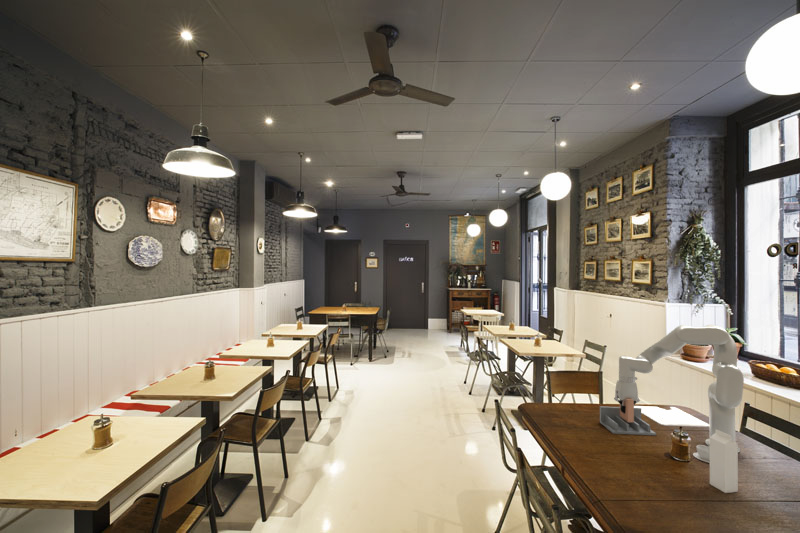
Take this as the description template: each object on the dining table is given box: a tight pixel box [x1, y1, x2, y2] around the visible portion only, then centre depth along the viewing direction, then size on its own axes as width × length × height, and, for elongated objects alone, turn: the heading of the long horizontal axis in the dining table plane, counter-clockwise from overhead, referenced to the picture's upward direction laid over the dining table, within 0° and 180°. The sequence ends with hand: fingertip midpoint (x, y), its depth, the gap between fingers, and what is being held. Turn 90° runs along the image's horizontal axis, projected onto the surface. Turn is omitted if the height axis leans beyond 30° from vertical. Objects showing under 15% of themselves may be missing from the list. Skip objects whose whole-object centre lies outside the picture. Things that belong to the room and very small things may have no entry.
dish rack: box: [599, 405, 657, 436], centre depth 194 cm, size 14×22×9 cm, turn 86°
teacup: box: [692, 444, 710, 464], centre depth 163 cm, size 10×10×5 cm
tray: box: [634, 405, 709, 428], centre depth 212 cm, size 28×28×2 cm
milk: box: [709, 429, 739, 494], centre depth 141 cm, size 6×6×22 cm
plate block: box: [619, 399, 635, 422], centre depth 194 cm, size 8×3×12 cm, turn 176°
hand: (626, 412), depth 194 cm, fingers closed on plate block, 3 cm apart
